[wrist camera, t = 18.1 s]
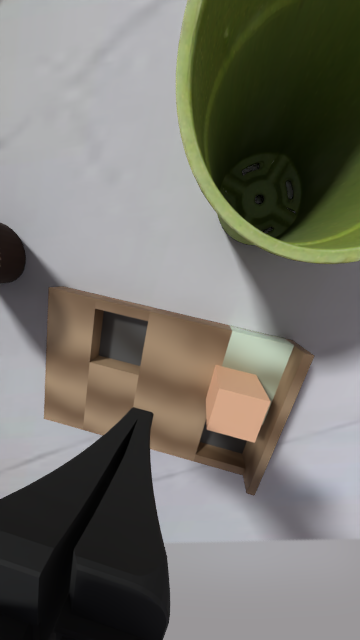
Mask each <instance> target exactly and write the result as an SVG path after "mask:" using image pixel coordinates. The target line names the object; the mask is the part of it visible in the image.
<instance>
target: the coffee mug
mask: <svg viewBox="0 0 360 640" xmlns="http://www.w3.org/2000/svg"><path fill="white" fill-rule="evenodd" d="M25 260H26V257H25V250H24V247H23V244H22V242H21V240H20V239H19V237H18V236H17V234H16V233H15V232H14V231H13V230H12V229H11V228H9V227H8V226H6V225H4V224H2V223H0V284H1V283H8V282H12V281H14V280H16V279H17V278H19V277H20V275H21V274H22V272H23V270H24V267H25Z"/></svg>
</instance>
